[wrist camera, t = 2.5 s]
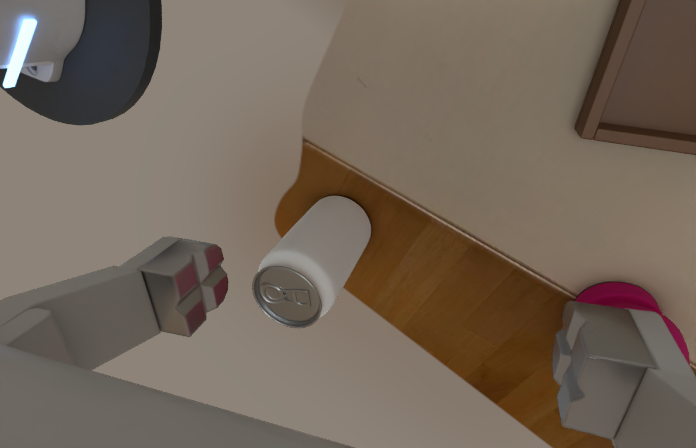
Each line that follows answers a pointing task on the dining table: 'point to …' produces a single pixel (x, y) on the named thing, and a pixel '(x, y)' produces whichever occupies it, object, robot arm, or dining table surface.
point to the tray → (645, 79)
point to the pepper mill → (630, 305)
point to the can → (312, 262)
